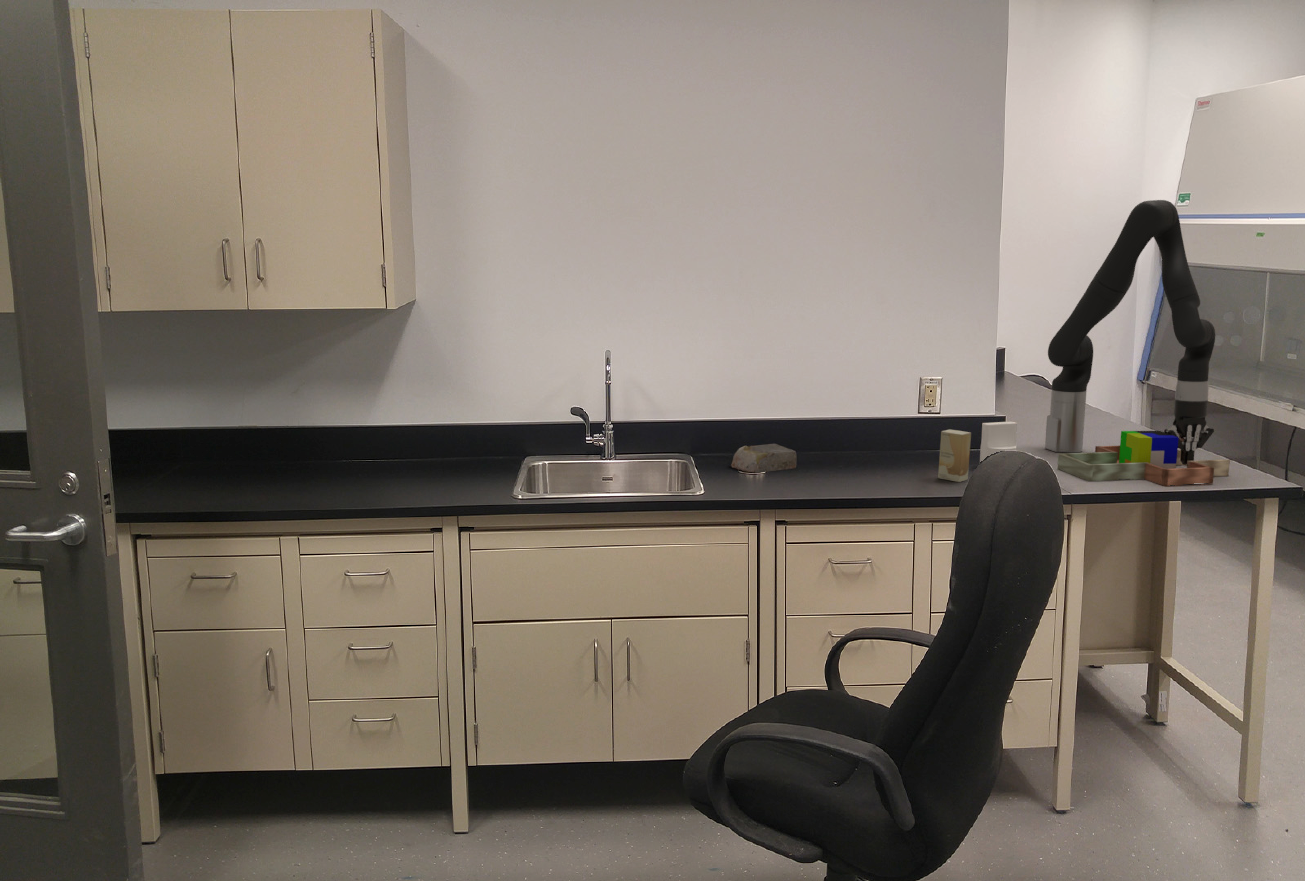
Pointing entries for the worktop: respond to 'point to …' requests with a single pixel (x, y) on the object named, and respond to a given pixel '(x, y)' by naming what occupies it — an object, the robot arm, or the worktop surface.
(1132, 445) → the puzzle toy
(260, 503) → the worktop surface
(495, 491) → the worktop surface
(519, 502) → the worktop surface
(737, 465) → the geological specimen
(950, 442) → the skincare box
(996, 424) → the base with upright slab
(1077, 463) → the open sectioned tray
